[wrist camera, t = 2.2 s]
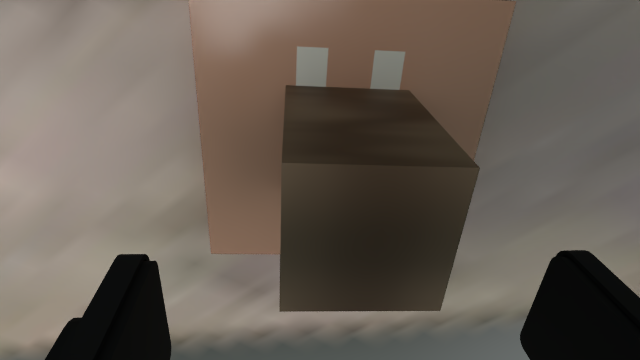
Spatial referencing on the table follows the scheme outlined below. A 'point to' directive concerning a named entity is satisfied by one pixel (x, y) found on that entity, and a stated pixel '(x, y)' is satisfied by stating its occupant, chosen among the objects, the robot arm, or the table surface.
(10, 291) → the table surface
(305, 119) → the walnut block
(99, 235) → the table surface
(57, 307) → the table surface
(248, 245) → the tile
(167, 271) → the table surface
